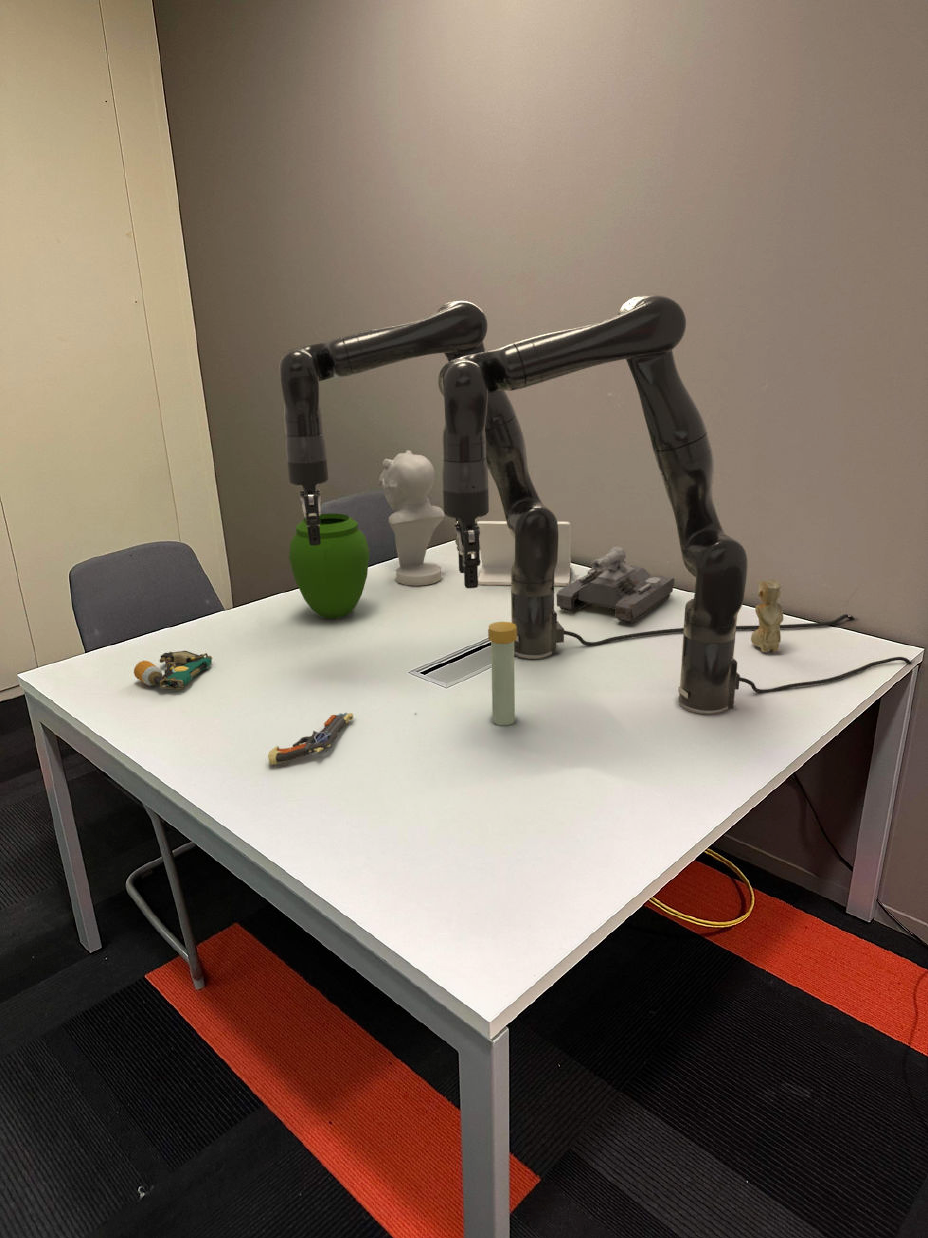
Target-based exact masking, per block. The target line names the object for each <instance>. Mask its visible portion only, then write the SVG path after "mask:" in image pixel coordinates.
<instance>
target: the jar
mask: <svg viewBox="0 0 928 1238" xmlns="http://www.w3.org/2000/svg"><path fill="white" fill-rule="evenodd" d="M490 653H491V655H490V656H491V659H490V660H491V707H492V709H491V711H492V712H491V714H492V722H493V723H494V724H495V725H498V726H509V725H513V724H514V723H515V721H516V699H515V698H516V695H515V692H516V688H515V687H516V686H515V684H516V683H515V681H516V680H515V678H516V677H515V655H514V642H512V643H507V644H497V643H493V642H491V641H490Z"/></svg>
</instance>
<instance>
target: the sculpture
mask: <svg viewBox="0 0 928 1238" xmlns="http://www.w3.org/2000/svg"><path fill="white" fill-rule="evenodd" d="M757 582H758V584H759V585H758V586H759V587H758V591H757V592H758V593H757V597H758V598H759V600H760V604H757V605H755V607H754V608H755V609H754V610H755V611H754V612H755V614H756V616H757V618H758V625H759V628H758V629H754V631H753V632H752V633H751V636H750V641H751V643H752V645H753V646H754V647H757V648H760V651H761V653H769V652H770V651H771V652H778V651H779V650H780V643H781V641H782V637H781V636H782V634H781V629H780V625H782V623H783V622H784V609H783V606H782V605H781V603H778V599H779V598H780V597H781V595H782V591H781V589H782V585H781V583H779V582H778V581H776V580H774V579H771V580H770V579H769V580H758V581H757Z"/></svg>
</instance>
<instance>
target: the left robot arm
mask: <svg viewBox="0 0 928 1238" xmlns="http://www.w3.org/2000/svg"><path fill="white" fill-rule="evenodd" d="M487 332H488V320H487V316H486V315H485V313H484V311H483V310H482V308H480V307H479V306H477V305H476V304H474V303H472V302H470V301H466V300H453V301H449V302H446V303H444V304H443V305H442V306H441V307H439V309H438V310H437V312H436V313H434V314H432V315H429V316H426V317H424V318H421V319H419V320H414V321H412V322H408V323H407V322H406V323H404V324H399V325H393V326H387V327H381V328H380V327H379V328H375V329H369V330H365V331H361V332H360V331H359V332H355V333H352V334H349V335H348V334H347V335H344V336H340V337H338V338H334V339H332V340H329V341H325V342H320V343H315V344H309V345H304V346H299V347H295V348H291V349H289V350H287V351H286V352H284V353H283V355H282V356H281V357H280V360H279V365H278V371H279V378H280V384H281V393H282V399H283V400H282V401H283V405H284V408H283V417H284V418H283V420H284V429H285V431H284V432H285V452H286V462H287V472H288V482H289V483H290V484H291V485H293V486H301V487H302V490H299V497H300V504H301V505H302V514H303V517H304V518H306V520H307V521H306V525H307V527H308V535H309V544H310V545H311V546H313V545H320V544H321V539H320V528H319V526H320V523H321V522H320V519H319V516H320V515H321V514H322V507H321V506H322V505H321V502H322V495H321V489H317V487H316V486H317V485H322V484H324V483H327V482H328V480H329V470H328V457H327V448H326V441H325V436H324V426H323V416H322V415H323V414H322V411H321V406H320V382H322V381H326V380H329V379H333V378H345V377H350V376H355V375H358V374H361V373H366V372H369V371H372V370H376V369H380V368H383V367H387V366H390V365H393V364H396V363H400V362H403V361H407V360H411V359H415V358H420V357H424V356H430V355H436V354H444V356H445V358H446V360H447V363H448V362H450V361H452V360H454V359H457V358H460V357H464V356H468V355H473V354H477V353H482V352H487V351H486V348H485V345H484V340H485V338H486V337H487ZM485 436H486V462H487V468H488V472H489V473H490V475H491V477H492V479H493V482H494V484H495V486H496V488H497V491H498V494H499V498H500V501H501V505H502V506H501V507H502V509H503V513H504V517H505V521H506V522H507V526H508V529H509V531H510V533H511V534H512V536H513V537H514V538H515V561H514V563H513V564H512V566H511V585H510V588H511V589H510V597H511V599H510V603H511V604H510V606H511V607H510V609H511V610H510V615H511V617H510V618H511V621H510V622H511V623H514V624H515V625H516V627H517V639H516V640H515V641H514V657H518V658H521V659H525V660H526V659H527V660H540V659H545V658H548V657H550V656H552V655H557V654H558V653H557V650H558V649H557V648H558V647H557V645H558V644H562V643H565V636H569V637H573V638H574V639H576V640H578V641H579V642H580V643H581V644H582V645H584V646H587V647H596V646H601V645H605V644H607V643H611V642H615V641H622V640H626V639H627V640H628V639H633V638H638V637H645V636H646V637H647V636H654V635H655V636H656V635H662V634H671V633H683V632H684V627H679V628H678V627H677V628H667V629H665V628H664V629H657V630H649V631H641V632H635V633H629V634H623V635H622V634H621V635H617V636H612V637H608V638H605V639H601V640H598V641H586V640H585V639H584V638H583V637H582V636H581V635H580V634H578V633H576V632H573V631H569V630H565V628H564V627H563V626H562V624H561V623H560V622H559V621H558V613H557V612H556V611H555V586H554V571H555V568H556V565H557V558H558V522H559V521H558V518H557V517H556V515H555V513H554V512H553V511H552V510H551V509H549V508H548V507H547V506H545V505H544V503H543V502H542V500H541V498H540V496H539V494H538V492H537V489H536V487H535V485H534V483H533V480H532V478H531V475H530V472H529V467H528V458H527V449H526V448H527V447H526V441H525V437H524V434H523V430H522V428H521V425H520V422H519V419H518V417H517V414H516V411H515V409H514V406H513V404H512V402H511V400H510V398H509V396H508V393H506V390H504V391H499V392H496V393H492V394H489V395H488V403H487V414H486V422H485ZM847 614H848V613H844V614H842V615H840V616H839V617H837V618H836V619H833V620H830V621H824V622H823V621H822V622H810V623H809V622H808V623H792V624H780V630H782V629H783V630H784V629H800V628H801V629H803V628H817V627H818V628H820V627H828V626H833V625H836V624H838V623H840V622H841V621H843V620H845V619H849V620H850V621H855V618H854V616H853V615H851V617H848V615H847ZM758 628H759V624H757V625H736V631H739V630H757V629H758Z"/></svg>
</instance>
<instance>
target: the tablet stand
mask: <svg viewBox="0 0 928 1238" xmlns="http://www.w3.org/2000/svg"><path fill="white" fill-rule="evenodd" d="M557 522H558V558H557V565H556V568H555V571H554V587H556V586H557V587H566V586H567V585H569V584H570V580H571V579H570V578H571V565H572V564H571V560H572V558H571V522H569V521H557ZM476 523H478V526H479V528H480V536H479V542H480V561H481V570H480V573H479V574H478V585H484V586H485V585H486V586H487V585H489V586H490V585H491V586H511V566H512V564H513V563H514V561H515V538H514V537H513V536H512V534H511V533H510V531H509V529H508V526H507V522H506V520H505V521H504V520H477V522H476Z"/></svg>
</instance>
